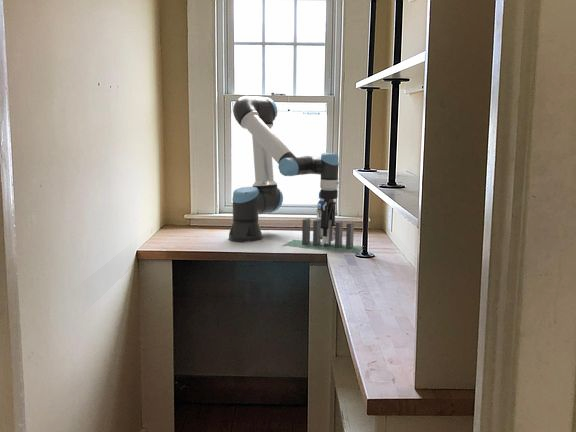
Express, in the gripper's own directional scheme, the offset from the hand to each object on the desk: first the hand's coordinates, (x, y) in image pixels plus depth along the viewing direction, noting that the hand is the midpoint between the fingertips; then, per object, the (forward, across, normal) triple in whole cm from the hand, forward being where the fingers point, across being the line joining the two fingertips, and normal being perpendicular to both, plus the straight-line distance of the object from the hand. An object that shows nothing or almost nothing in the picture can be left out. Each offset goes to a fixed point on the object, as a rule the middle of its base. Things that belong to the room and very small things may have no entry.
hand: (327, 241), depth 259 cm
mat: (+2, -2, +1) cm, 3 cm away
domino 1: (+2, 0, +10) cm, 10 cm away
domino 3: (+1, 0, 0) cm, 1 cm away
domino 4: (+2, 0, -5) cm, 5 cm away
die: (+2, +16, +7) cm, 18 cm away
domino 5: (+2, 0, -10) cm, 10 cm away
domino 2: (+2, 0, +5) cm, 5 cm away
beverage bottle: (+2, +30, +11) cm, 32 cm away
